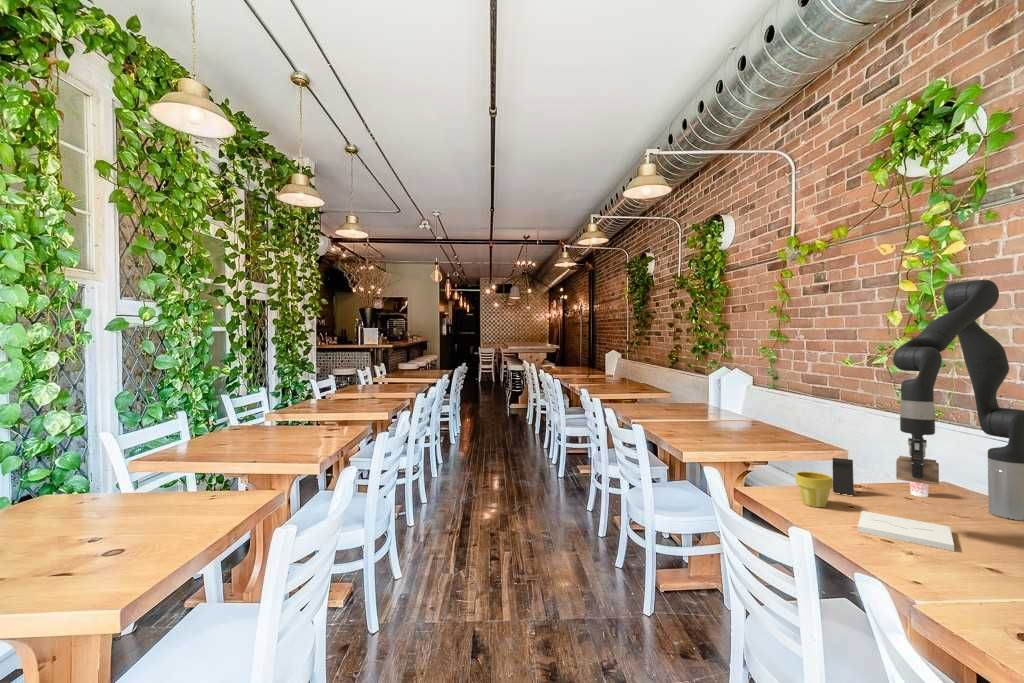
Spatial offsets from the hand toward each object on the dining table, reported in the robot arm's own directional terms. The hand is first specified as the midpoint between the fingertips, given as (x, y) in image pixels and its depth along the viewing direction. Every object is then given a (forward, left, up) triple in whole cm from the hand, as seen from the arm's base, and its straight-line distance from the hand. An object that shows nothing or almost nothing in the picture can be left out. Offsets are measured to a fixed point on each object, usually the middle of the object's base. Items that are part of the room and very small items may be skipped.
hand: (917, 475), depth 132 cm
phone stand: (+20, -30, -16) cm, 40 cm away
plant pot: (+26, -8, -16) cm, 32 cm away
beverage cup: (-1, -43, -16) cm, 46 cm away
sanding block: (0, 0, -1) cm, 1 cm away
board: (+3, +3, -16) cm, 17 cm away
